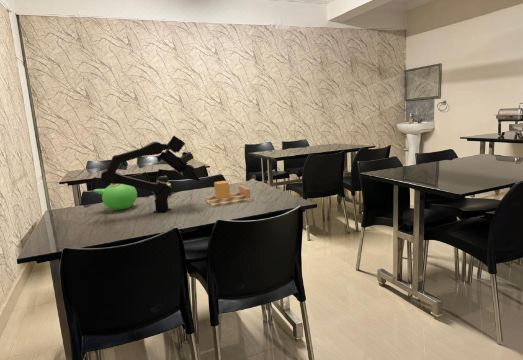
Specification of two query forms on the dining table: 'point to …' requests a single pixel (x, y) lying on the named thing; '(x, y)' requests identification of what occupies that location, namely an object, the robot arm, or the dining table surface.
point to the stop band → (244, 191)
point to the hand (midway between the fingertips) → (196, 178)
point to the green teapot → (118, 196)
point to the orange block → (221, 189)
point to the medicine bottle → (165, 179)
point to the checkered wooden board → (227, 200)
